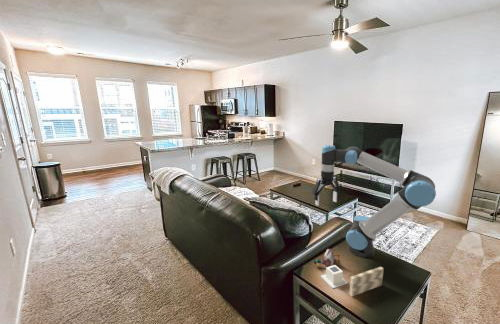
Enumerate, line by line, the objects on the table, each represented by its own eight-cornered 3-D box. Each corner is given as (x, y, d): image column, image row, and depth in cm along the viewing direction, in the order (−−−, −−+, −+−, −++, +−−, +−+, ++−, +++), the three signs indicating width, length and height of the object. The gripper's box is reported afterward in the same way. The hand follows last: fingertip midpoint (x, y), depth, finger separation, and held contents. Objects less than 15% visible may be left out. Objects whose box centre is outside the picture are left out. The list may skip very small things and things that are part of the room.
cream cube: (334, 274, 130) (335, 264, 129) (342, 281, 125) (342, 271, 123) (325, 277, 128) (326, 267, 127) (333, 284, 123) (333, 274, 121)
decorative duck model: (314, 260, 133) (309, 245, 148) (315, 271, 135) (310, 255, 149) (341, 258, 132) (334, 243, 146) (342, 270, 134) (334, 253, 148)
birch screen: (379, 283, 123) (380, 266, 121) (381, 285, 122) (383, 268, 120) (349, 294, 116) (350, 276, 114) (351, 296, 115) (353, 278, 113)
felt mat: (335, 271, 133) (335, 271, 133) (348, 283, 124) (348, 282, 124) (320, 276, 129) (320, 275, 129) (332, 288, 120) (332, 288, 120)
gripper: (339, 167, 151) (337, 198, 155) (306, 171, 142) (305, 204, 146) (348, 169, 144) (346, 202, 148) (314, 174, 135) (313, 208, 140)
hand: (326, 203), depth 147 cm, fingers open, 13 cm apart
